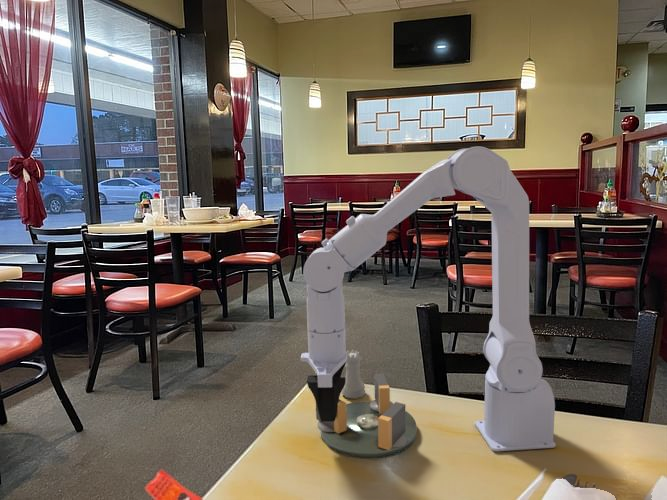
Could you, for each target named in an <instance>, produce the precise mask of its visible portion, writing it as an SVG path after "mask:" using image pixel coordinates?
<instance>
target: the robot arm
mask: <svg viewBox="0 0 667 500" xmlns="http://www.w3.org/2000/svg"><path fill="white" fill-rule="evenodd" d="M455 190H457V191H459V192H460V193H463V194H465V195H469V196H471V197H473V198H474V199H475V200H476V201H477V202H478V203H480V204H481V205H482V206H483V207H485V209H486V210H488V211H489V212H490V214H491V268H492V269H491V272H492V273H491V279H492V281H491V282H492V283H491V286H492V290H491V291H492V293H491V294H492V317H491V319H490V321H489V324H488V325H489V327H488V328H489V329H488V334H487V337H486V338H485V340H484V343H483V347H482V348H483V349H482V350H483V356H484V357H485V359H486V360H487V361H488V363H489V367H488V370H487V371H486V373H485V378H484V379H485V380H484V381H485V382H484V409H483V410H484V412H483V413H484V414H483V415H484V419H483V420H476V421H474V426H475V427H476V429H477V430H478V431H479V433H480V434H481V436H482V437H483V439H484V440H485V442H486V443H487V445H488V446H489V448H490V449H491V451H493V452H505V451H506V452H507V451H508V452H509V451H519V450H520V451H521V450H536V449H537V450H538V449H539V450H540V449H552V448H556V446H557V445H556V443H555V441H554V435H555V434H554V431H555V413H556V412H555V410H556V409H555V408H556V401H555V395H554V392H553V389H552V387H551V386H550V384H549V382H548V381H547V380H545V379H544V378H542V377H543V370H544V369H543V363H542V361H541V360H540V358H539V356H538V354H537V350H536V348H537V347H536V344H537V343H536V338H535V335H534V333H533V329H532V327H531V323H530V200H529V196H528V194H527V192H526V191H525V190H524V188H523V186H522V185H521V183H520V182H519V180H518V179H517V177H516V176H515V174H514V173H513V172H512V170H511V168H510V165H509V163H508V160H506V159H505V158H503V157H502V156H501V155H499V154H498V153H496V152H495V151H493V150H492V149H489V148H488V147H485V146H477V145H476V146H471V147H468V148H460V149H457V150H456V151H453V152H452V153H451V154H450V155H449V156H448V157H447V158H445V159H442V160H440V161H438V162H437V163H435V164H434V165H433V166H430V167H429V168H428V169H426V170H425V171H423V172H422V173H421V174H420V175H418V176H417V177H416V178H415V179H414V180H413V181H411V182H410V183H409V184H408V185H407V186H406V187H405V188H404V189H402V190H401V191H400V192H399V193H398V194H396V195H395V196H394V197H393V198H392V199H390V200H389V202H387V203H386V204H385V205H384V206H383V207H381V208H380V209H379V210H378V211H377V212H376V213H374V214H367V213H360V214H359V215H357V216H356V217H355V216H354V215H352V216H350V217H349V218H348V219H346V221H345V223H346V224H347V225H345V226H344V227H343V228H341V230H339V231H338V232H337V233H335V234H334V235H333V236H332V237H331V238H330V239H328V238H327V237H326V238H325V239H323V240H322V241H321V245H322V247H319V248H316V249H314V250H313V251H312V253H311V254H309V257H308V258H307V259H306V261H305V263H304V265H303V268H302V269H303V270H302V273H303V274H302V275H303V279H304V281H305V283H306V295H307V297H306V321H307V323H306V326H307V345H308V346H307V347H308V348H307V349H308V350H307V351H308V352H302V353H301V354H300V355H301V356H300V361H301V362H304V363H305V362H306V363H308V364H309V366H310V367H311V368H312V369H313V371H314V372H315V375H313V374H311V375H310V374H309V375H307V377H306V384H307V387H308V388H309V390H310V391H311V393H312V395H313V398H314V401H315V405H316V404H317V408H318V412H319V416H320V419H321V421H322V422H324V421H335V418H336V414H337V407H338V400H339V399H340V396H341V395H342V393H341V391H342V390H343V388H344V385H345V382H346V376H343V377H342V373H343V370H344V368H345V365H346V361H347V353H346V352H347V351H346V350H347V349H346V348H347V345H346V342H347V341H346V340H347V339H346V312H345V311H346V309H345V307H346V305H345V302H346V301H345V297H344V289H343V288H344V287H343V280H344V277H345V273H348V272H352V271H354V270H356V269H357V268H358V267H359V266H360V265H362V264H363V263H365V262H366V261H367V260H368V259H370V258H371V257H372V256H373V255H375V254H376V252H378V251H380V250H381V249H382V248H383V247H385V246H386V244H387V237H388V232H389V231H391V230H392V229H393V228H395V227H396V226H397V225H398V224H399V223H401V222H402V221H404V220H405V219H407V218H408V217H410V216H411V215H412V214H414V213H415V212H416V211H417V210H418V209H420V208H421V207H423V206H424V205H425V204H427V203H428V202H430V201H431V200H433V199H436V198H437V199H438V198H443V197H445V198H446V197H451V196H455V195H456V192H455Z"/></svg>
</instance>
